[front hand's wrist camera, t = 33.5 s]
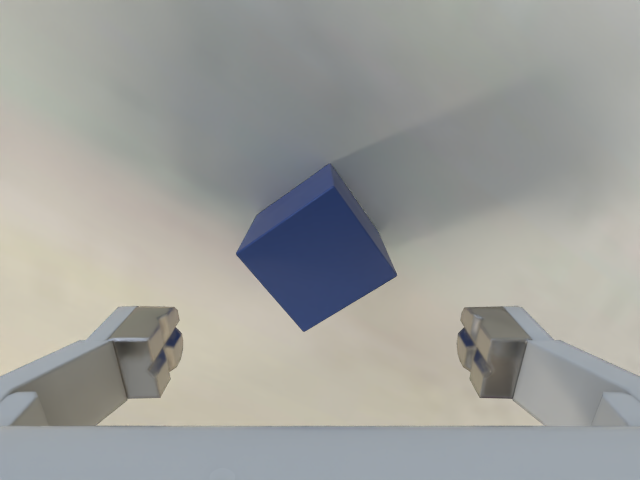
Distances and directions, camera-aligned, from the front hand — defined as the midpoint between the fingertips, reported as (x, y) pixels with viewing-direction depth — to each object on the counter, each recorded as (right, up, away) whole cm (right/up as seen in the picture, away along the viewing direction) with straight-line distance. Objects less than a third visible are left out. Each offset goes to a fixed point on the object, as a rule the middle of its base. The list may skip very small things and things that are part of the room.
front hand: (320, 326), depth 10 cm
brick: (0, +3, +8) cm, 9 cm away
